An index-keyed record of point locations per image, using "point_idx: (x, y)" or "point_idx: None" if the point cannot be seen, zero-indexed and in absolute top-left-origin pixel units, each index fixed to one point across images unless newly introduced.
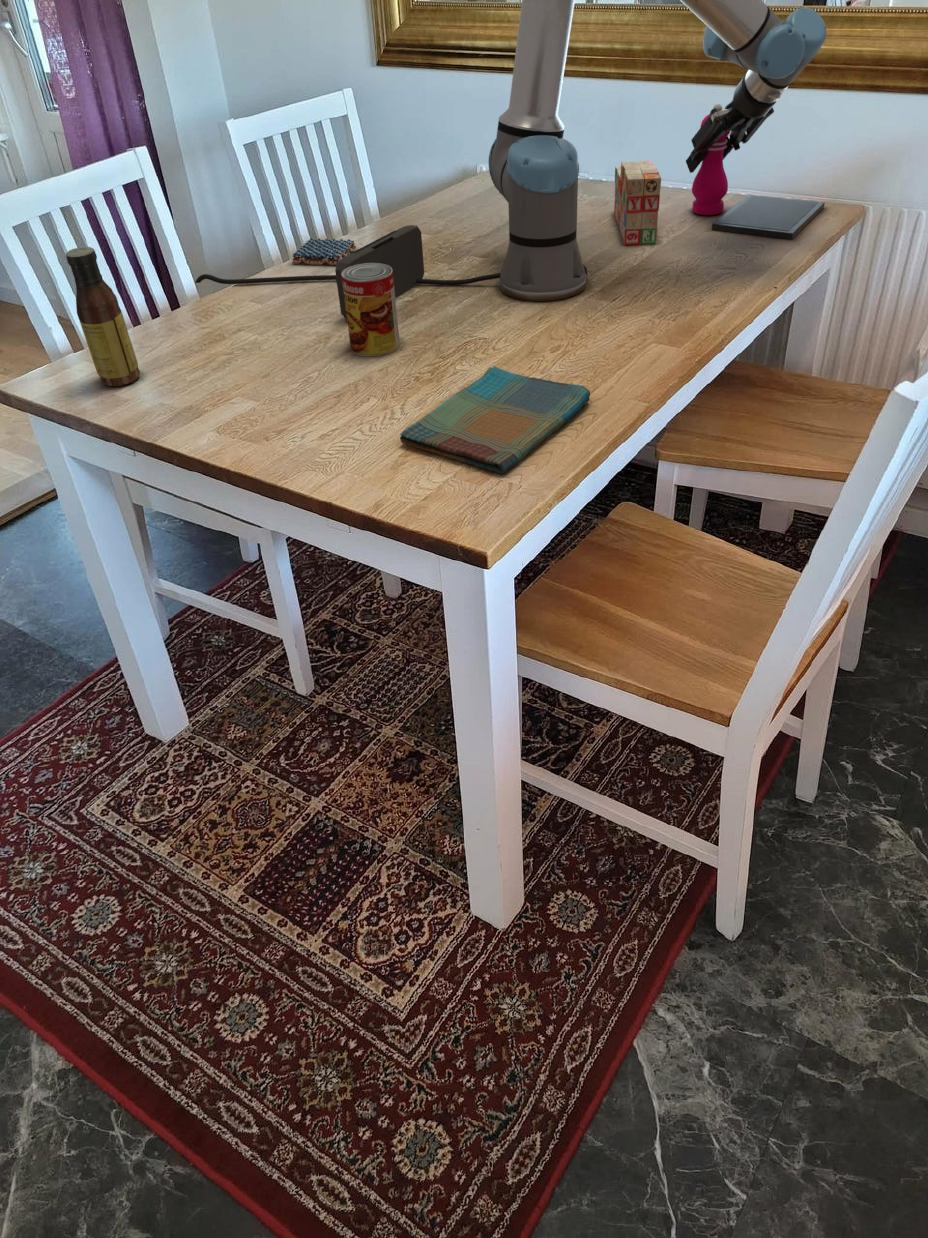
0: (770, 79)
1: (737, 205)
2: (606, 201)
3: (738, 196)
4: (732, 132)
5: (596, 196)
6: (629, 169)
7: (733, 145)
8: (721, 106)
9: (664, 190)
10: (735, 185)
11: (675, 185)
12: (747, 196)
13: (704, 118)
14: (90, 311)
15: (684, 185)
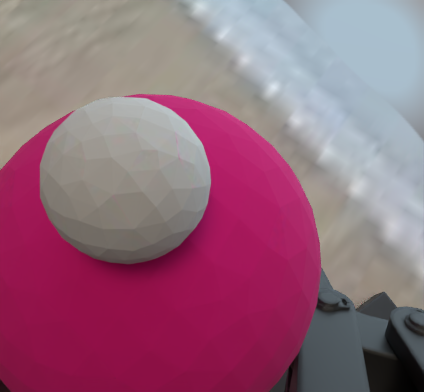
0: None
1: (272, 390)
2: (14, 65)
3: (367, 241)
4: (294, 368)
5: (29, 21)
6: None
7: (286, 378)
8: (162, 220)
9: (211, 75)
10: (414, 147)
11: (264, 59)
12: (366, 311)
13: (11, 160)
14: None
15: (286, 71)
